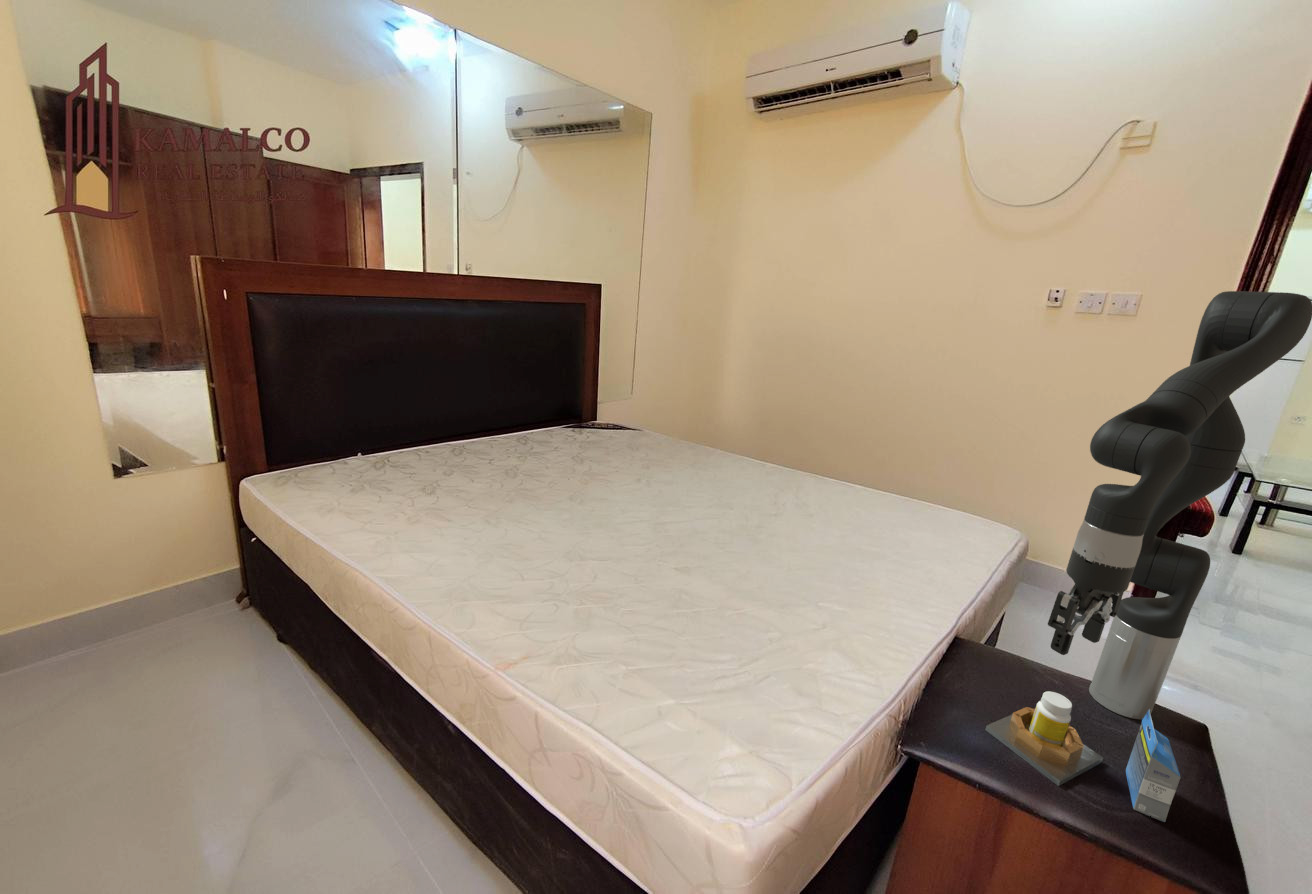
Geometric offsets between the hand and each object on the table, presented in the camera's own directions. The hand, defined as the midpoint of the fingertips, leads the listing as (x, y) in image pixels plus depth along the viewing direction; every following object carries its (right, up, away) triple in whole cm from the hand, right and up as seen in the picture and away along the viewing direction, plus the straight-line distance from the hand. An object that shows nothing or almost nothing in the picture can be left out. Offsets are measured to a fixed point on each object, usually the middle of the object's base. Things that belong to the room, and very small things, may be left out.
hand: (1074, 645), depth 87 cm
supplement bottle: (-1, -18, +5) cm, 19 cm away
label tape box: (+8, -22, -3) cm, 24 cm away
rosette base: (-1, -19, +5) cm, 20 cm away
